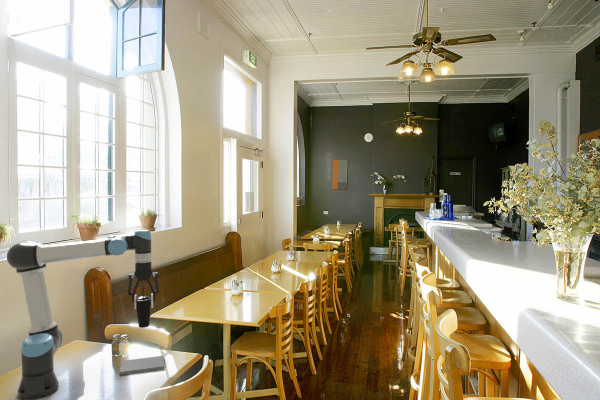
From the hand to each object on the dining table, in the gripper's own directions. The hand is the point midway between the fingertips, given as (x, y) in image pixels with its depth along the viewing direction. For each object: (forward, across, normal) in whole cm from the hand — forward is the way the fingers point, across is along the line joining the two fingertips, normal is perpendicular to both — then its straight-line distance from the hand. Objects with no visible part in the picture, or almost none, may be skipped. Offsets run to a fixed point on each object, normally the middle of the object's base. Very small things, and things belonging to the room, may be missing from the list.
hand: (143, 307), depth 210 cm
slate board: (+29, -1, 0) cm, 29 cm away
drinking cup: (+9, 0, 0) cm, 9 cm away
